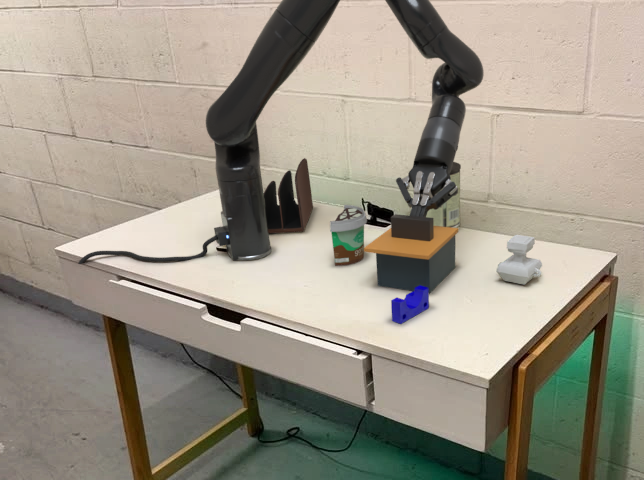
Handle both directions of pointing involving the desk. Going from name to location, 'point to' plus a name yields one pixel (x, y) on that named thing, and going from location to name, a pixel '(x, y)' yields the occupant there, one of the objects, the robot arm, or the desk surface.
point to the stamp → (519, 261)
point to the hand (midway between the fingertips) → (415, 225)
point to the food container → (348, 235)
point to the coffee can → (449, 204)
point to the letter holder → (289, 202)
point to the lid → (412, 237)
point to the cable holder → (410, 304)
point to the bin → (415, 269)
